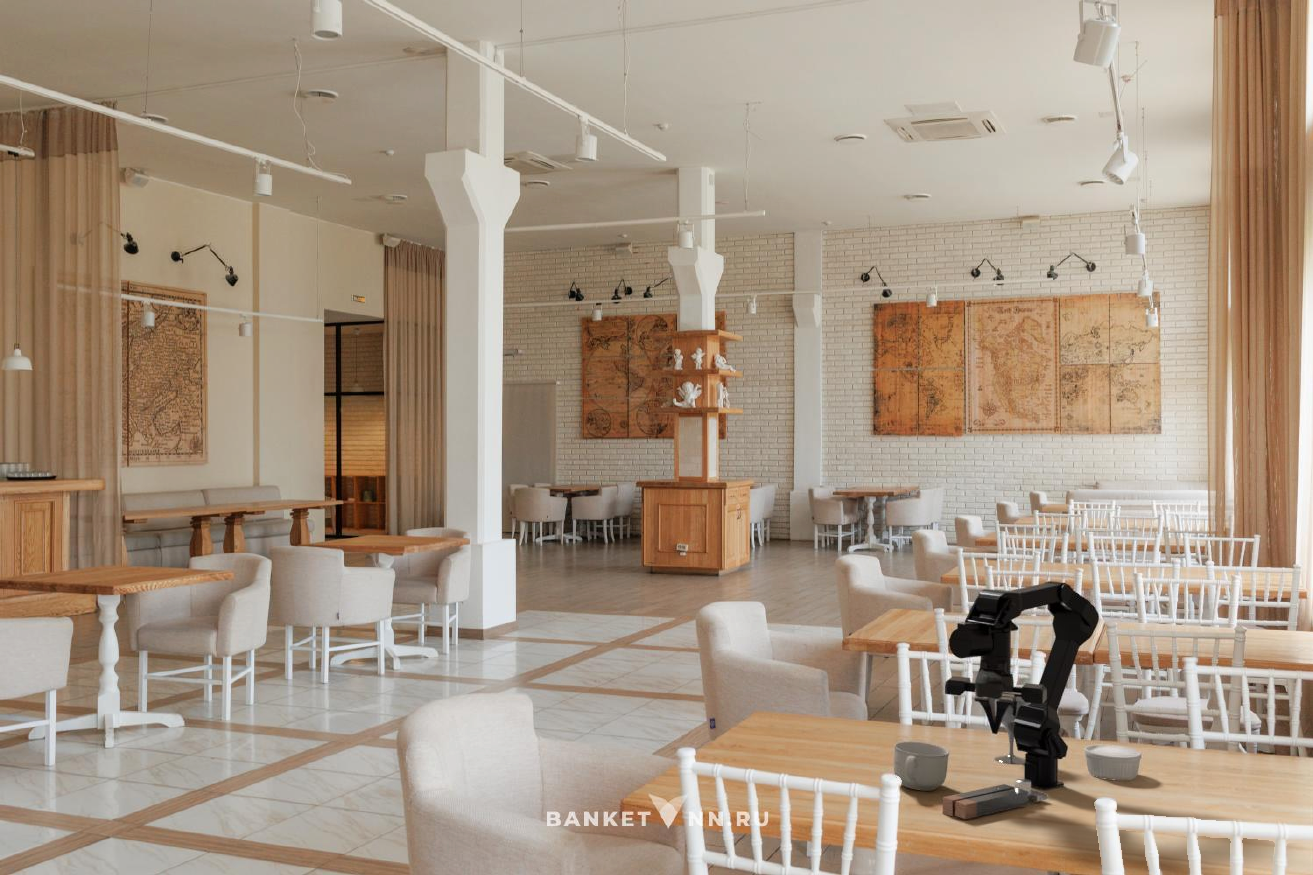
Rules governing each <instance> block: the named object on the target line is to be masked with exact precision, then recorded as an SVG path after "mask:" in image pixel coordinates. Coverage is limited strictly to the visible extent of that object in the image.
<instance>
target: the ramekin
mask: <svg viewBox="0 0 1313 875" xmlns="http://www.w3.org/2000/svg"><path fill="white" fill-rule="evenodd" d="M1083 751H1084V754H1085V761H1086V766H1087V771H1088V772H1089V773H1091V774H1092V775H1091V774H1090V775H1091V776H1093V775H1094V776H1093V777H1095V776H1097V777H1096V778H1098V777H1100V778H1099V779H1102V778H1106V779H1115V780H1128V781H1130V780H1129V779H1133V780H1135V779H1136V778H1137V776H1138V774H1139V768H1140V762H1141V759H1142V753H1141V752H1140V751H1139V750H1138V749H1135V748H1132V747H1127V746H1123V745H1122V746H1121V745H1115V744H1114V745H1113V744H1091V745H1087V746H1085V747H1084V750H1083ZM1106 779H1105V780H1106Z"/></svg>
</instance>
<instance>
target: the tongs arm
mask: <svg viewBox="0 0 1313 875" xmlns="http://www.w3.org/2000/svg"><path fill="white" fill-rule="evenodd" d="M1028 805H1029V804H1028V791H1025V790H1022V789H1019V788H1016V789H1015V788H1014V789H1011V790H1006V791H1002V792H997V793H992V794H988V795H983V796H978V797H974V798H969V799H964V800H960V801H955V816H954V817H959V818H961V819H963V820H967V819H972V818H977V817H982V816H985V815H990V814H993V813H995V814H996V813H998V812H1003V811H1007V810H1012V809H1016V808H1021V807H1025V806H1028Z"/></svg>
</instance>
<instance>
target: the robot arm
mask: <svg viewBox="0 0 1313 875" xmlns="http://www.w3.org/2000/svg"><path fill="white" fill-rule="evenodd" d="M1044 606H1047V611H1049V613H1050V614H1051V615H1052V616H1053V619H1052V623H1051V624H1052V628H1053V632H1054V641H1053V643H1052V647H1051V648H1050V652H1049V653H1048V654H1049V655H1048V657H1047V660H1046V664H1045V666H1044V669H1043V671H1042V674H1041V677H1040V681H1039V683H1038V684H1037V683H1028V682H1026V683H1025V684H1023V685H1022V687H1021V686H1014V685H1015V683H1014V681H1015V680H1014V676H1013V674H1012V666H1011V664H1012V663H1011V662H1012V656H1011V655H1012V635H1011V634H1012V632H1014V631H1016V632H1017V631H1018V630H1019V627H1018V625H1017V624H1016V623H1015V622H1013V620H1015V619H1016V618H1018V617H1019V616H1021V614H1022V612H1024V611H1027V610H1032V609H1035V608H1039V607H1044ZM1099 620H1100V616H1099V612H1098V610H1097V609H1096V606H1094V605H1093V604H1092V603H1091V602H1090V600H1089V599H1087V598H1085V597H1084V596H1083V595H1081V594H1080V593H1078V592H1077V591H1075V590H1074V589H1073V588H1072V586H1071V585H1070V584H1068V583H1067V582H1061V581H1052V580H1048V581H1046V582H1044V583H1039V584H1036V585H1031V586H1025V587H1022V588H1017V589H1012V590H1005V589H1003V590H1002V589H986V588H984V589H982V590H980V591H978V595H977V596H976V598H975V599H974V602H973V604H972V606H971V608H970V610H969V612H968V614H967V616H966V618H965V620H964V621H962V622H961V621H959V622H957V624H956V625H957V628H955V629H954V630H953V631H952V632H951V634H950V636H949V639H948V646H949V649H950V651H951V653H952V655H954V656H955V657H956V658H958V659H967V658H969V659H970V658H976V657H980V660H979V661H980V663H979V669H978V672H977V675H976V677H975V681H974V682H972V681H971V678H970V677H966V676H965V677H964V676H954V675H953V676H951V677H949V678H948V679H947V680H946V681H945V684H944V694H945V695H949V696H950V695H951V696H962V695H963V694H964V693H965V692H969V693H974V696H975V697H974V698H973V700H974V702H977V703H978V702H979V704H980V706H982V708H983V710H984V713H985V715H986V717H987V721H988V723H989V724H988V725H989V727H990V730H991V733H992V734H993V735H998V733H999V730H1000V728H1001V726H1002V723H1001V722H1002V720H1003V717H1004V714H1005V712H1006V710H1007V708H1008V706H1009V705H1012V704H1013V703H1014V702H1015V701H1016V700H1017V698H1016V696H1017V697H1021V698H1022V699H1023V700H1024V701H1025V702H1026V703H1030V704H1029V705H1028V706H1025V705H1021V706H1020V707H1019V709H1018V713H1017V716H1016V718H1015V720H1014V721H1013V723H1015V724H1014V727H1013V734H1014V743H1015V744H1016V749H1017V751H1018V752H1023V753H1024V752H1025V754H1024V755H1025V757H1024V758H1025V763H1024V764H1023V765H1024V766H1023V768H1024V769H1023V770H1024V772H1023V774H1024V776H1023V779H1027V780H1030V781H1031V787H1034V788H1037V789H1041V790H1049V789H1054V788H1058V787H1063V786H1065V782H1063V781H1060V780H1059V779H1058V778H1059V775H1058V774H1059V770H1058V769H1059V768H1058V767H1059V765H1058V764H1059V760H1063V758H1066V757H1067V753H1068V749H1069V746H1068V744H1067V743H1066V742H1065V741H1064V739H1063V738H1062V736H1061V735H1060V729H1061V721H1060V718H1059V713H1058V711H1059V706H1060V704H1061V701H1062V698H1063V694H1064V692H1065V691H1066V690H1065V689H1066V687H1067V684H1068V681H1069V677H1070V674H1071V672H1072V670H1073V666H1074V663H1075V661H1076V658H1077V655H1078V652H1079V648H1081V646H1082V645H1083V644H1085V643H1086V642H1087V641H1088V640H1090V638H1092V636H1093V634H1094V632H1095V630H1096V628H1097V626H1098V623H1099ZM995 699H998V700H997V701H996V705H997V710H996V714H995Z"/></svg>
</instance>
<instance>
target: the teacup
mask: <svg viewBox="0 0 1313 875" xmlns="http://www.w3.org/2000/svg"><path fill="white" fill-rule="evenodd" d="M893 748H894V750H893V752H894V753H893V754H894V755H893V771H894V776H895V775H897V776H899V777H900V778H901V780H902V783H901V785H903V787H906V788H908V789H911V790H915V791H916V790H917V791H921V792H922V791H924V792H925V791H926V792H927V791H934V790H937V788H938V787H940V786H942V785H943V784H944V783H945V781H946V779H947V774H948V764H949V755H950V751H949V750H948V749H947V748H946V747H943V746H940V745H936V744H932V743H927V742H923V741H900V742H897V743H895V744H894V745H893Z"/></svg>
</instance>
